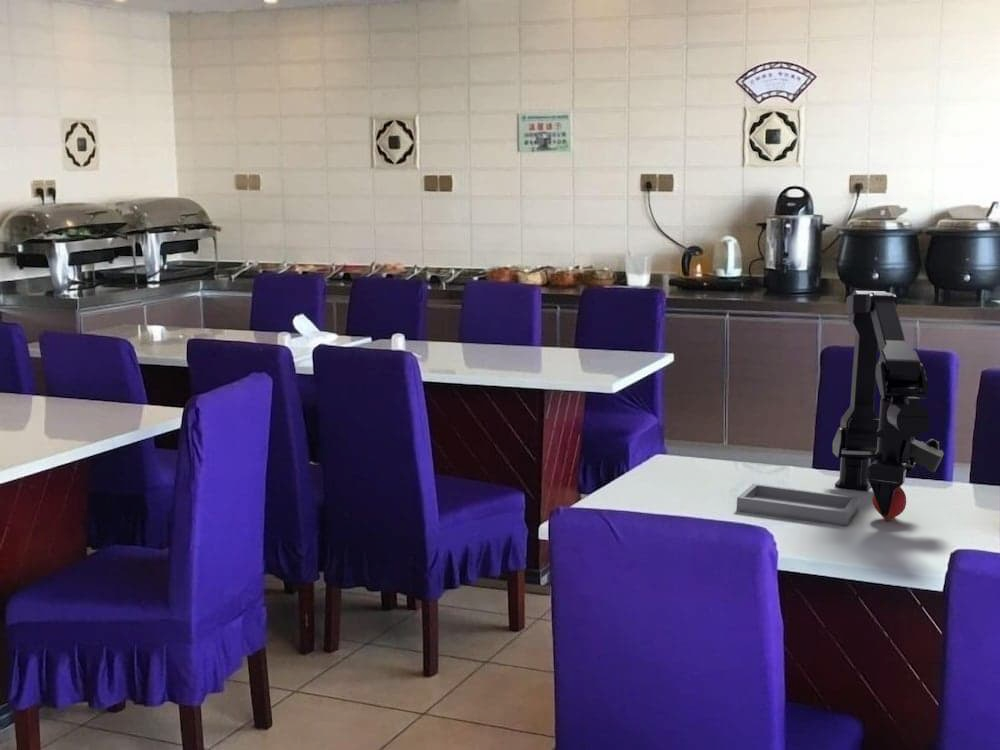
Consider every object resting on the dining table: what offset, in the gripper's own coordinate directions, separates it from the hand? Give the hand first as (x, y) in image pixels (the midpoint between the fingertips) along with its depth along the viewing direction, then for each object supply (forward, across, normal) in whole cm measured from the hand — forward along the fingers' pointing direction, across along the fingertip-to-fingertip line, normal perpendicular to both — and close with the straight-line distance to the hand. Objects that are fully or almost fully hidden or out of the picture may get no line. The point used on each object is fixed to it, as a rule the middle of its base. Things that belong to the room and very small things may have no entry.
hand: (888, 509), depth 220 cm
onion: (+2, 0, 0) cm, 2 cm away
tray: (+2, -2, +16) cm, 16 cm away
